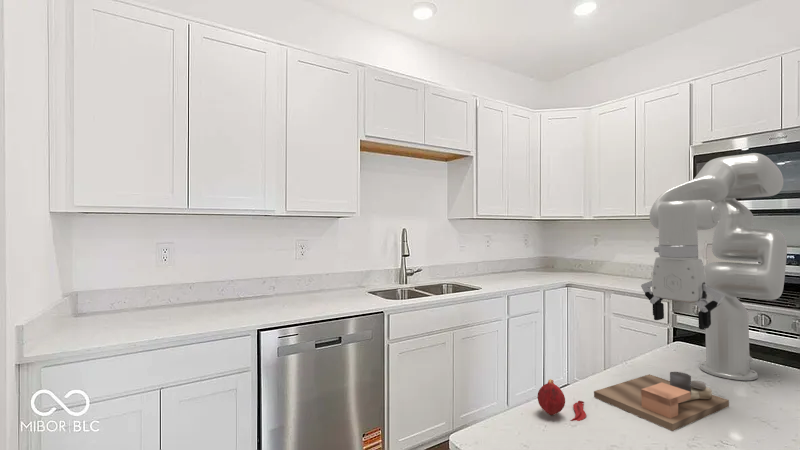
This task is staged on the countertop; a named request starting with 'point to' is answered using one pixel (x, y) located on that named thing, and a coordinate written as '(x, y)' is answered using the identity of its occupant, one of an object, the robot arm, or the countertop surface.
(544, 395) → the red rounded oval piece
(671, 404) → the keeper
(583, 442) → the countertop surface
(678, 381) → the link
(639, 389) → the board
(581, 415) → the cayenne pepper
